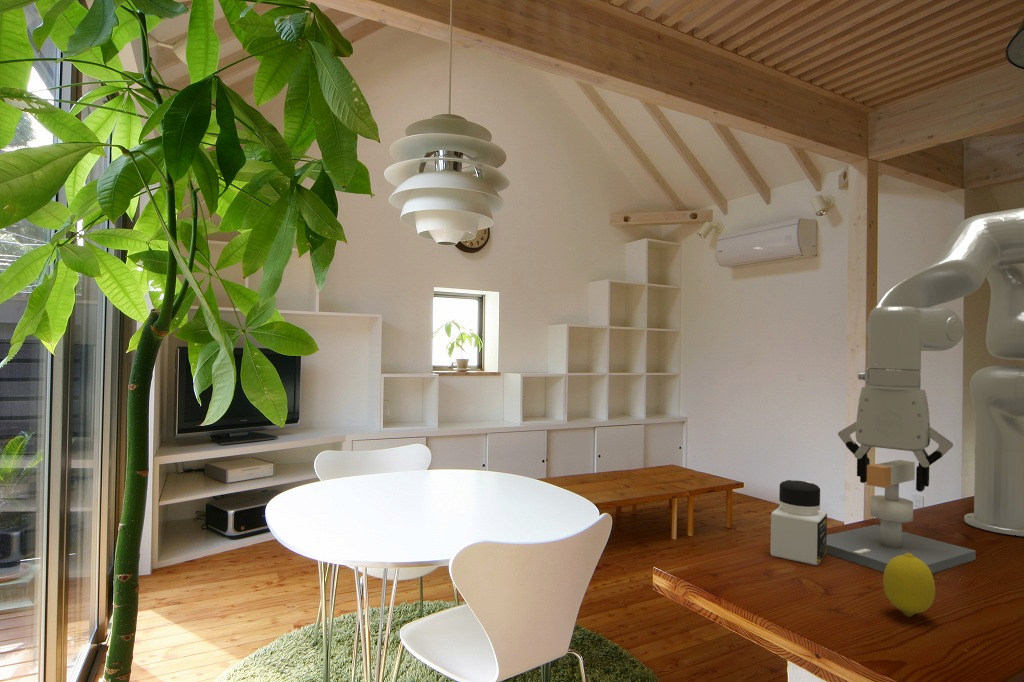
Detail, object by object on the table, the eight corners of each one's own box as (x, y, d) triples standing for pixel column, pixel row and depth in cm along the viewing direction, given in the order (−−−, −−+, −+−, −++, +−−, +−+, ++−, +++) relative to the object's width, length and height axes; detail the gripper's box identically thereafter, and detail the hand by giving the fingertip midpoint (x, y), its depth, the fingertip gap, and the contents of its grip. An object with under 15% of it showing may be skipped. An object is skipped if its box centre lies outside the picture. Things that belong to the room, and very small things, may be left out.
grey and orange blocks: (894, 527, 95) (895, 469, 95) (855, 517, 100) (856, 463, 100) (925, 516, 101) (926, 463, 101) (887, 508, 106) (888, 457, 106)
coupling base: (876, 532, 112) (876, 500, 112) (975, 559, 98) (976, 523, 98) (809, 547, 102) (809, 512, 102) (909, 580, 88) (909, 539, 89)
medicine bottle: (818, 566, 94) (819, 489, 94) (769, 556, 98) (771, 482, 98) (826, 554, 99) (827, 481, 99) (780, 545, 104) (781, 475, 104)
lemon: (874, 605, 79) (875, 544, 80) (919, 608, 79) (920, 547, 79) (896, 624, 74) (897, 559, 74) (944, 627, 73) (945, 562, 73)
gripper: (830, 378, 104) (828, 480, 104) (954, 383, 92) (952, 499, 92) (842, 377, 109) (840, 474, 109) (961, 382, 97) (959, 491, 97)
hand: (891, 485), depth 100 cm, fingers open, 7 cm apart
